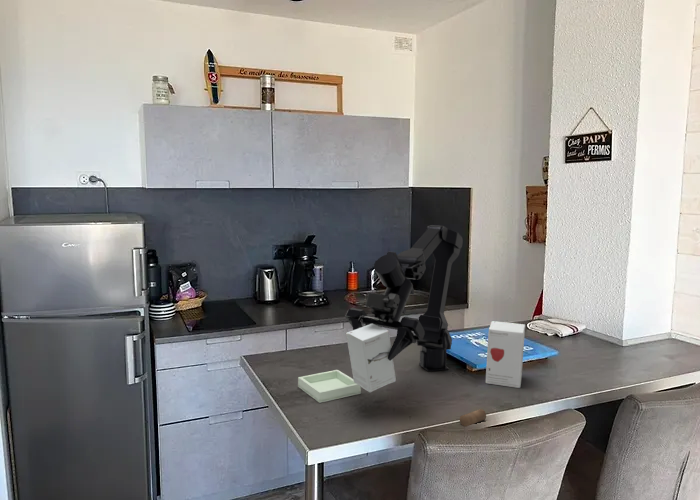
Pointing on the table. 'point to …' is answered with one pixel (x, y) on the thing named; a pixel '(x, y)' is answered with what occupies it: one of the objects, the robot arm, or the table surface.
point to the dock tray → (328, 385)
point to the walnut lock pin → (472, 417)
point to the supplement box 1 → (370, 357)
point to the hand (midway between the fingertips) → (370, 355)
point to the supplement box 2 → (505, 354)
